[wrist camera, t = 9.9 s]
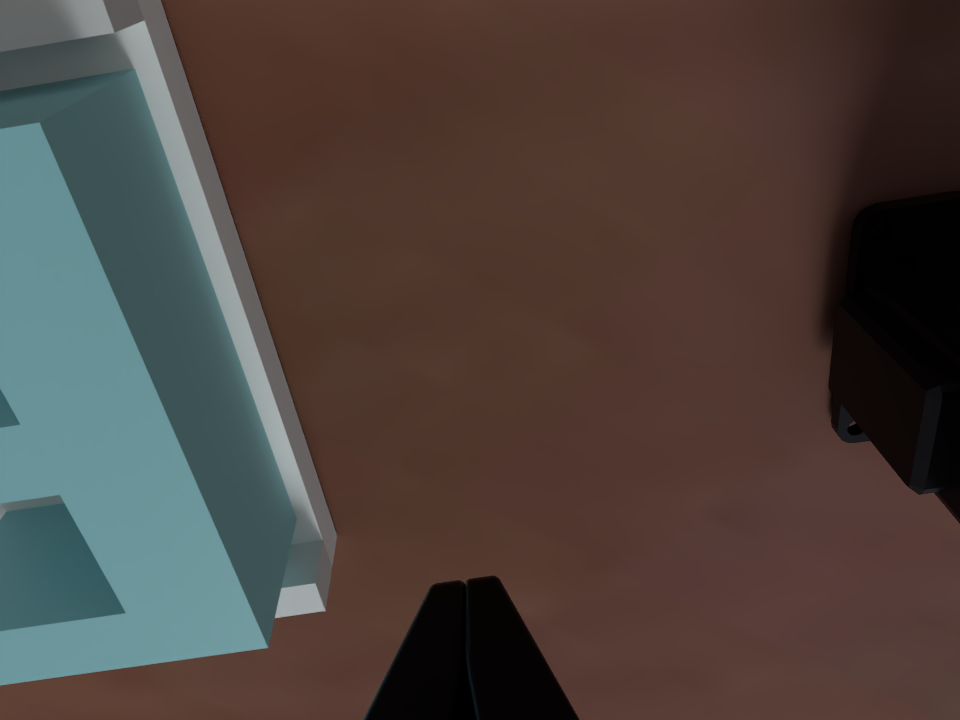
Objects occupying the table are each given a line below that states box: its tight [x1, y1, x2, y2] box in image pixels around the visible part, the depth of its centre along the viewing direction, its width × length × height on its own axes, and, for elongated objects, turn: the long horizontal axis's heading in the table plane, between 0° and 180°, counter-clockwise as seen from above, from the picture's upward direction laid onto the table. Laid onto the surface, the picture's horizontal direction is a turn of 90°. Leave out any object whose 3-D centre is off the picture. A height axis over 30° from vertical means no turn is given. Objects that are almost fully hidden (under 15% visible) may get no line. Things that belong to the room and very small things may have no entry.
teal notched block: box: [0, 69, 297, 685], centre depth 16 cm, size 7×11×4 cm, turn 8°
